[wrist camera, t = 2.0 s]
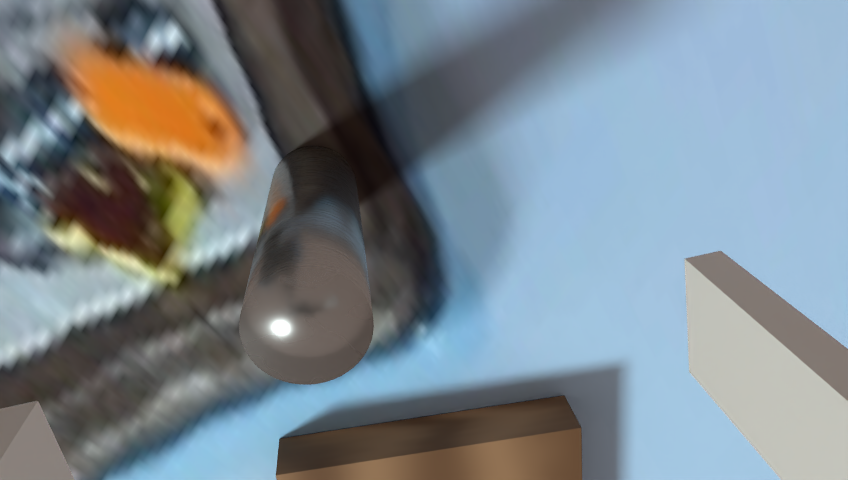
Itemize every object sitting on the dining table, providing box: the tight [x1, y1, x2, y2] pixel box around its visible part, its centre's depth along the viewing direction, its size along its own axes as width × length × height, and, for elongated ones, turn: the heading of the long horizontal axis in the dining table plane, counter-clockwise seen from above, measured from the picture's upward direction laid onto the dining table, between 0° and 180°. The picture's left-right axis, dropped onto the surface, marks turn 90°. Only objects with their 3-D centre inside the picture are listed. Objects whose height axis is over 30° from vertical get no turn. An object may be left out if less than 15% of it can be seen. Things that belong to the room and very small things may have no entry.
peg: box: [239, 146, 374, 384], centre depth 28 cm, size 4×4×14 cm
